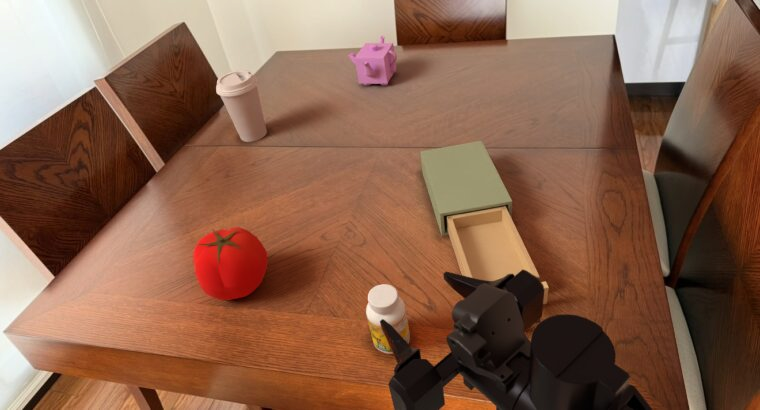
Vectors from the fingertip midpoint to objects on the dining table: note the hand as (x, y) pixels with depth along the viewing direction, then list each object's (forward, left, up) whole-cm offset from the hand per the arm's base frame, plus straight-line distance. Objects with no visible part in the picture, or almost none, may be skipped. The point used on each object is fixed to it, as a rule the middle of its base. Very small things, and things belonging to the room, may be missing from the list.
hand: (414, 297), depth 54 cm
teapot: (+76, -52, -18) cm, 94 cm away
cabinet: (+23, -31, -18) cm, 43 cm away
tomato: (+35, +10, -18) cm, 40 cm away
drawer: (+6, -20, -17) cm, 27 cm away
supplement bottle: (+9, -1, -18) cm, 20 cm away
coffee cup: (+78, -15, -18) cm, 81 cm away
